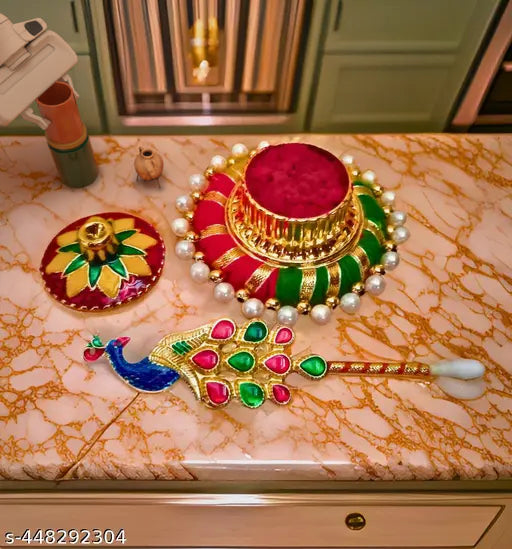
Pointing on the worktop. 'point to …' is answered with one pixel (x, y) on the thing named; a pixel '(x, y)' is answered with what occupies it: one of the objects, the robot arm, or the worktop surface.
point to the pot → (148, 165)
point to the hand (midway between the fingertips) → (62, 113)
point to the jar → (74, 161)
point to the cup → (61, 113)
